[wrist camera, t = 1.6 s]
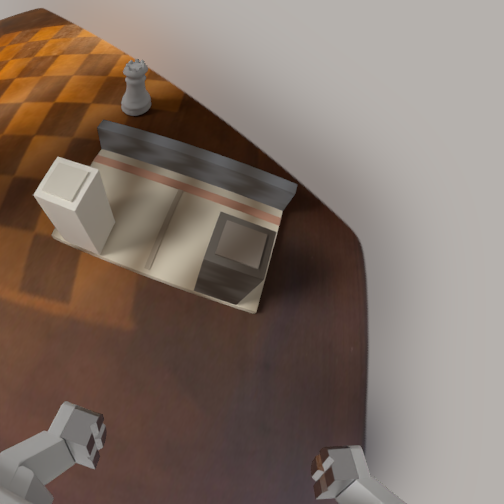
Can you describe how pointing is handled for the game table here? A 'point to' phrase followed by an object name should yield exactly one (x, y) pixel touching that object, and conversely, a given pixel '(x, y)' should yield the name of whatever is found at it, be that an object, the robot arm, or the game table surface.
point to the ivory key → (76, 204)
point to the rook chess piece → (135, 89)
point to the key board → (177, 204)
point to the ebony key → (234, 259)
